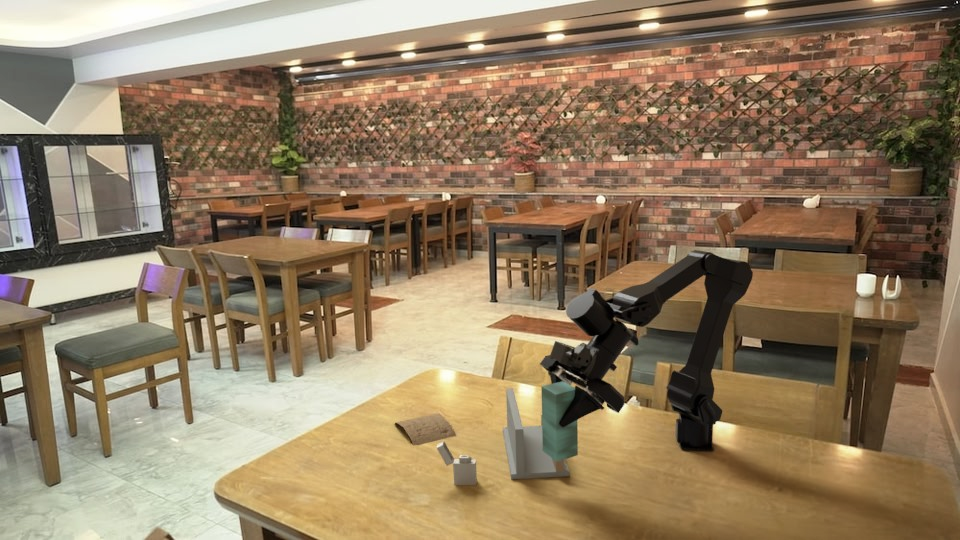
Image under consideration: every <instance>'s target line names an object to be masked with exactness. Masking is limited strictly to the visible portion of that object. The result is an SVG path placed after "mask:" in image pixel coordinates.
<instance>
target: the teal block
mask: <svg viewBox="0 0 960 540" xmlns="http://www.w3.org/2000/svg"><path fill="white" fill-rule="evenodd" d="M574 397H575V387H574V386H572V385H568V384H567V383H565V382H563V381H561V382H557V383H553V384H551V383H549V384H545V385H541V415H542V439H543V452H545V453H546V454H547V455H549V456H550V457H551V458H552V459H554V460H555V461H556V462H557V461H561V460H564V459H565V460H567V459H570V458H573V457H576V456H579V455H578V454H579V451H578V450H579V448H578V447H579V446H578V443H579V442H578V440H579V439H578V437H579V436H578V432H579V431H578V420H576V421H574V422H572V423H571V424H569V425H567V426H565V427H562V426H560V425H559V422H560V420H561V418H562V416H563V415H564V413H565V412H566V410H567V408H568V407H569V405H570V404H571V402H572V401H573V399H574Z"/></svg>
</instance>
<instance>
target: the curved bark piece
mask: <svg viewBox="0 0 960 540" xmlns="http://www.w3.org/2000/svg"><path fill="white" fill-rule="evenodd" d="M396 424H397V425H399V426H400V427H402V428H403V429H404V430H405V432H406V434H407V435H408V437H409V438H410V440H411V442H412V445H413V446H421V445H424V444H429V443H433V442H437V441H441V440H447V439H449V438H453V437H454V438H455V437H456V436H457V433H456V431H455V430H454V429H453V425H452V424H451V423H450V421H448V420H447V419H446V418H445V416H443V415H442V414H441V413H439V412H438V413H433V414H429V415H424V416H420V417H416V418H411V419H407V420H399V421H397V422H396Z"/></svg>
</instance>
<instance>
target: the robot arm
mask: <svg viewBox="0 0 960 540" xmlns="http://www.w3.org/2000/svg"><path fill="white" fill-rule="evenodd" d="M753 274H754V272H753V271H752V268H751V265H750V264H749V263H748V262H747V261H744V260H738V259H731V258H725V257H722V256H719V255H716V254H715V253H713V252H710V251H705V250H698V249H693V250H691V251H689V252H688V253H687V255H686V256H685V257H684V258H682V259H680V260H679V261H678V262H676V263H674V264H673V265H672V266H670V267H668V268H667V269H666V270H664V271H662V272H661V273H659V274H658V275H656V276H655V277H653V278H651V280H649V281H647V282H645V283H641V284H636V285H632V286H629V287H626V288H624V289H621V290H620V291H618V292H617V293H615V294H614V296H612V297H610V298H607V299H604V297H603V296H602V295H601V293H600V292H599V291H598V290H597V289H595V288H590V287H589V288H588V289H587V290H586V292H584V293H581V294H579V295H576V296H575V297H574V298H572V299H571V300H570V301H569V303H568V304H567V306H566V311H565V314H566V316H567V317H568V318H569V319H570V320H571V321H572V322H573V323H574V324H575V325H576V326H577V327H578V328H579V329H581V331H582V332H583V333H584V334H585V335H587V336H589V337H591V339H590V340H589V341H588V343H585V342H582V343H580V344H578V345H577V346H575V347H574V346H572V345H569V344H566V343H563V342H559V341H556V340H555V341H554V343H553V346H552V349H551V352H550V354H549V355H545V356H544V357H543V359H542V360H541V362H540V363H539V365H540V366H541V367H543V368H544V369H545V370H546V371H547V374H548V376H549V377H550V382H551V383H550V384H553V383H557V382H561V381H563V382H565V383H567V384H568V385H570V386H572V383H573V384H575V385H574V386H575V387H574V388H575V397H574V399H573V401H572V402H571V404H570V405H569V407H568V408H567V410H566V412H565V413H564V415H563V416H562V418H561V420H560V422H559V425H560V426H562V427H565V426H567V425H569V424H571V423H572V422H574V421H576V420H577V421H578V420H580V419H581V418H583V417H585V416H587V415H590V414H592V413H594V412H596V411H598V410H601V411H603V410H604V409H605V407H604V406H603V405H604V403H606V407H607V408H608V409H610V410H611V411H613V412H615V413H617V414H619V413H620V411H621V410H622V409H623V407H624V406H625V396H624V395H623V394H621V393H620V391H618V389H616V387H614V385H612V384H611V383H609V382H607V381H605V380H603V379H604V377H605V376H606V375H607V373H608V372H609V371H612V372H615V371H616V369H617V368H618V367H617V365H616V364H615V362H616V360H617V359H618V358H619V356H620V355H621V353H622V352H623V350H624V349H625V347H626V346H627V345H628V343H629V344H631V345H634V346H638V345H639V339H638V331H637V330H636V329H633V328H630V327H628V326H626V325H625V323H626V324H631V325H633V326H636V327H639V328H644V327H646V326H648V325H649V324H650V323H652V321H653V320H654V319H655V318H657V317H658V316H659V315H660V313H661V311H662V307H663V305H664V304H665V303H666V302H667V301H668V300H670V299H672V298H673V297H675V296H676V295H677V294H679V293H680V292H681V291H683V290H685V289H686V288H688V287H689V286H690V285H692V284H693V283H695V282H696V281H698V280H699V279H700V278H702V277H705V278H704V282H703V284H704V288H705V293H706V296H707V298H706V302H705V304H704V309H703V311H702V314H701V317H700V321H699V324H698V326H697V330H696V333H695V336H694V339H693V341H692V346H691V348H690V352H689V354H688V357H687V360H686V364H685V365H684V366H683V367H682V368H681V369H679V370H675V369H674V370H673V371H671V374H670V379H669V381H668V382H669V383H668V384H667V385H666V387H665V388H666V389H667V392H666V398H667V399H668V401H669V403H670V406H671V409H672V411H673V412H676V413H677V414H678V418H676V419H675V433H674V434H675V440H676V442H677V443H678V444H679V448H680V449H681V450H683V451H685V450H686V451H687V450H688V451H706V452H707V451H710V452H714V451H715V447H714V445H713V435H714V432H713V431H714V425H716V424H717V422H719V421H721V419H722V415H723V409H722V408H721V407H720V406H719V405H718V404H717V403H716V401H714V400H713V398H714V395H715V394H714V393H715V386H714V381H713V376H712V371H713V369H714V364H715V361H716V359H717V356H718V352H719V350H720V347H721V344H722V341H723V337H724V334H725V331H726V328H727V325H728V321H729V318H730V315H731V312H732V309H733V307H734V305H735V304H736V303H737V302H738V301H740V300H741V299H742V298H743V297H744V296H746V293H747V291H748V289H749V287H750V284H751V282H752V280H753V276H754V275H753ZM614 318H615V319H616V320H615V319H614ZM624 322H625V323H624Z"/></svg>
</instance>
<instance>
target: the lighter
mask: <svg viewBox="0 0 960 540" xmlns="http://www.w3.org/2000/svg"><path fill="white" fill-rule="evenodd" d="M436 450H437V451H438V454H439V455H440V457H441V458H442V461H443V462H444V464H445V466H446V467H448V466H450V465H452V466H453V467H452V468H453V485H455V486H466V485H467V486H476V485H477V483H478V482H477V480H478V479H477V478H478V476H477V474H478V473H477V459H475V458H472V456H470V455H468V454H460V455H458V456H459V457H458V458H454V456H453V454H452V453H451V451H450V449H449V447H448V446H447V444H446V442H445V441H444V440H443V441H441V442H439V443H437V444H436Z"/></svg>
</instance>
